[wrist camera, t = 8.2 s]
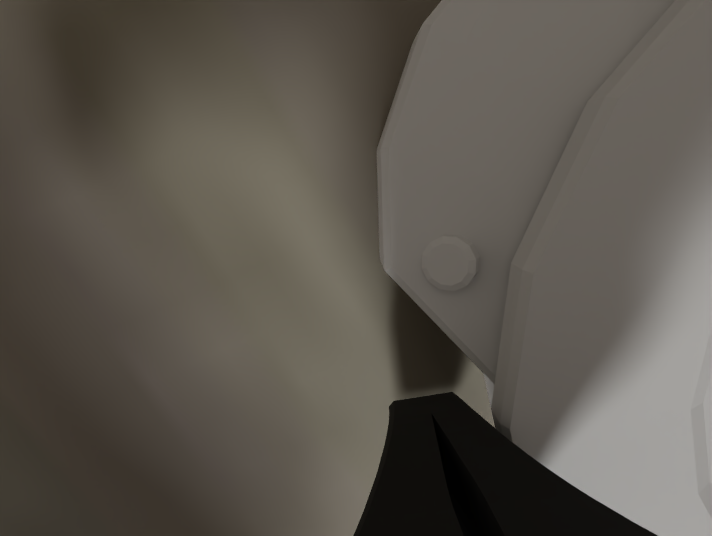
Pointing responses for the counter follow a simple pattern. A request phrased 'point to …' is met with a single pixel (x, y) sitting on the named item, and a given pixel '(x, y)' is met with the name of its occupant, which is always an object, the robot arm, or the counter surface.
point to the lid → (568, 233)
